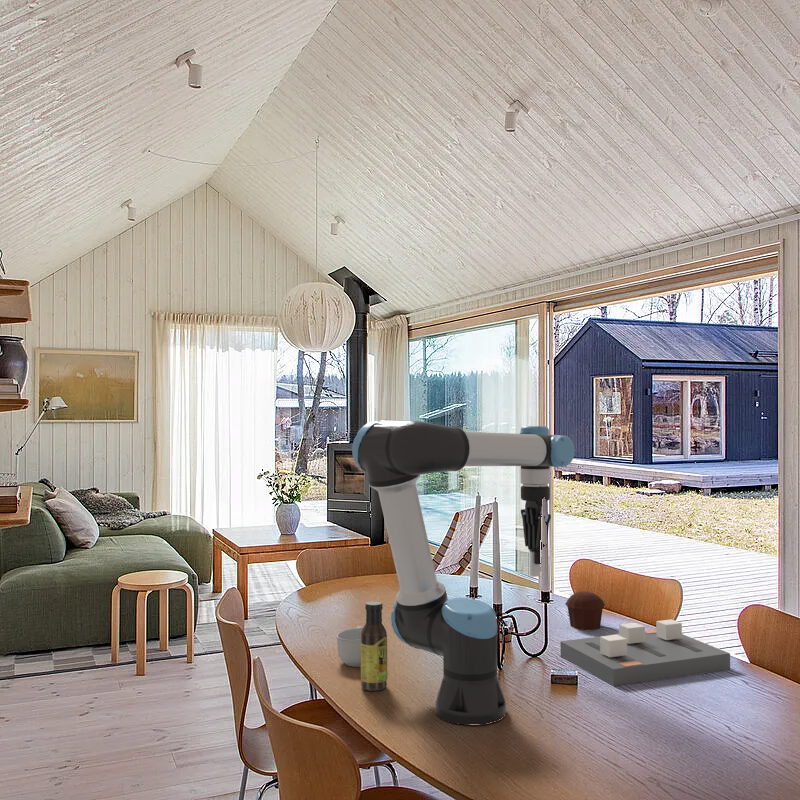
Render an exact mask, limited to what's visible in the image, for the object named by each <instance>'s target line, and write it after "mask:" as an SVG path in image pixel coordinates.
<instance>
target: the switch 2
mask: <svg viewBox="0 0 800 800" xmlns="http://www.w3.org/2000/svg"><path fill="white" fill-rule="evenodd" d="M655 624H656V625H655V626H656V628H655V630H656V636H657V637H660V638H662V639H664V640H672V639H680V638H682V634H683V626H682V622H680V621H677V620H675V619H664V620H657V621H656V622H655Z"/></svg>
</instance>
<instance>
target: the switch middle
mask: <svg viewBox="0 0 800 800" xmlns="http://www.w3.org/2000/svg"><path fill="white" fill-rule="evenodd" d="M618 631H619V632H618V634H620V636H621V637H624V638H626V639H627V643H628V644H632V643H640V642H645V631H646V628H645V625H642V624H640V623H637V622H629V623H621V624H619V630H618Z"/></svg>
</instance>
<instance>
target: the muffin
mask: <svg viewBox="0 0 800 800" xmlns="http://www.w3.org/2000/svg"><path fill="white" fill-rule="evenodd" d="M565 606H566V607H567V612H568V617H569V618H568V620H569V623H570V627H571V628H574V629H576V630H583V631H595V630H598V629H599V630H600V629H601V623H602V617H603V609H604V608H605V606H606V604H605V603H604V601H603V599H602V598H601V597H600V596H599V595H597V594H596V593H594V592H591V591H579V592H575V593H573V594H572V595H570V597H568V599H567V600H566V602H565Z"/></svg>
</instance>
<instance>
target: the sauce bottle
mask: <svg viewBox="0 0 800 800" xmlns="http://www.w3.org/2000/svg"><path fill="white" fill-rule="evenodd" d="M382 611H383V602H381V601H374V600H373V601H372V600H370V601H367V602H365V613H366V614H365V616H366V617H365V624H364V625H363V627H362V628H363V629H362V632H361V667H360V683H361V685H360V686H361V688H362V689H363V690H365V691H373V692H375V691H381V690H384V689H386V688H387V685H388V684H387V680H388V634H387V630H386V628H385V625H383V617H382V615H383V612H382Z"/></svg>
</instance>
